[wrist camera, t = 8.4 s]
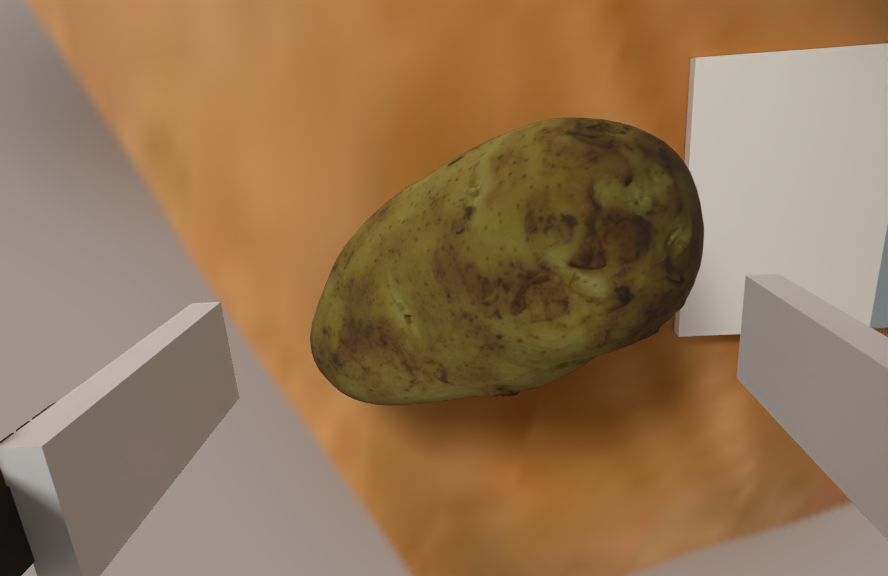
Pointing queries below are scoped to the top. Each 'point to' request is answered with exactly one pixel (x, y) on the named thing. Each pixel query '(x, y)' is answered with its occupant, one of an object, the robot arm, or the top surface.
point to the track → (789, 180)
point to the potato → (512, 266)
